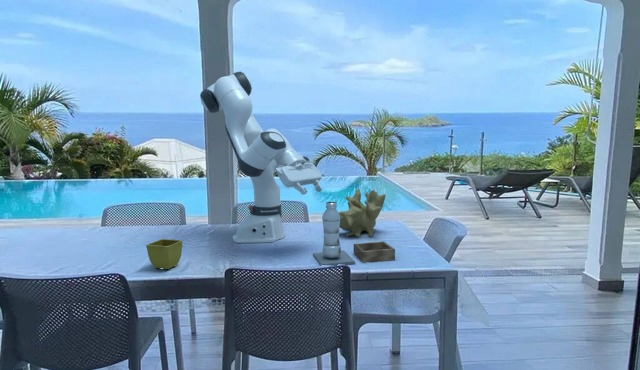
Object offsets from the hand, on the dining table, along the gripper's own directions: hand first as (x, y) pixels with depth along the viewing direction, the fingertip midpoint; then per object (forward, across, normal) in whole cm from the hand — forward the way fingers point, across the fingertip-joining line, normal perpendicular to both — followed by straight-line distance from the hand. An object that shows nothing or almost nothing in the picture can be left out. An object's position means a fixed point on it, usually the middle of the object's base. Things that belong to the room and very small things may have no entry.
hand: (312, 192), depth 161 cm
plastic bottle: (+23, -1, +10) cm, 25 cm away
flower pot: (-7, -38, +43) cm, 58 cm away
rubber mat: (+23, 0, +10) cm, 26 cm away
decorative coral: (+15, +36, +18) cm, 43 cm away
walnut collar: (+31, +10, +3) cm, 33 cm away
